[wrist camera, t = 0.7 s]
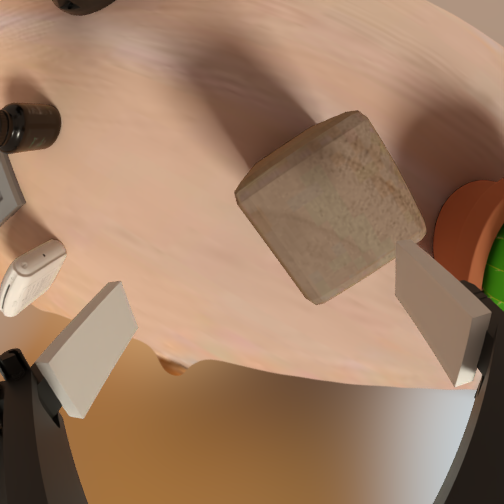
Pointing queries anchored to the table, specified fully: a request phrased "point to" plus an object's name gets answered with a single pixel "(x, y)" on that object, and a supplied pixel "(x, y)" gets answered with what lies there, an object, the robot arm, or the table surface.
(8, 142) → the supplement bottle
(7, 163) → the base plate
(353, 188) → the wooden block
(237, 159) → the table surface
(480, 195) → the potted cactus
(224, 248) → the table surface
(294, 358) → the table surface
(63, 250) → the photo printer
